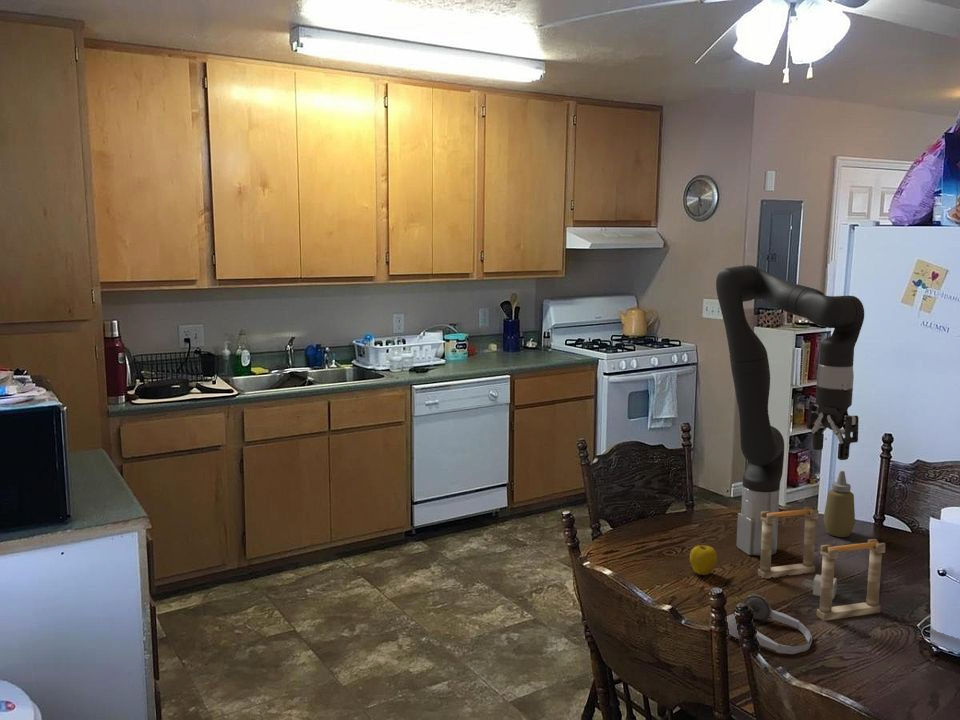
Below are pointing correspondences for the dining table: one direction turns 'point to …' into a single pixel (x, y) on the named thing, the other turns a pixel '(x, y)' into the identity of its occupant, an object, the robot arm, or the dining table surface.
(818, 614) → the wooden parallette bars
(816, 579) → the usb wall charger
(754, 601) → the headphones
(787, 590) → the dining table surface
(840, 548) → the orange rod
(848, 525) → the squeeze bottle
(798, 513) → the orange wooden rod
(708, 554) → the apple
